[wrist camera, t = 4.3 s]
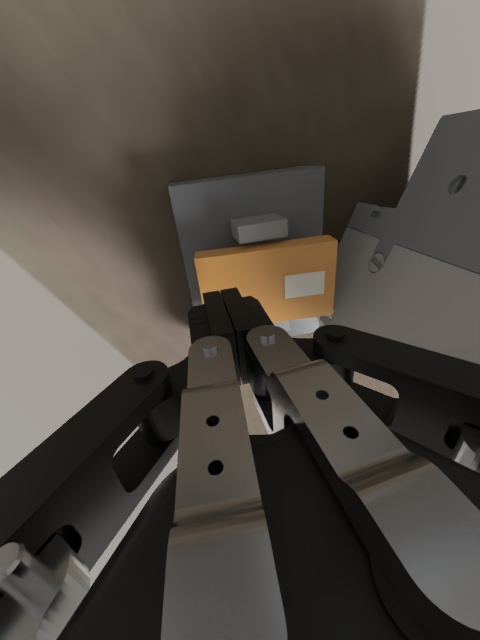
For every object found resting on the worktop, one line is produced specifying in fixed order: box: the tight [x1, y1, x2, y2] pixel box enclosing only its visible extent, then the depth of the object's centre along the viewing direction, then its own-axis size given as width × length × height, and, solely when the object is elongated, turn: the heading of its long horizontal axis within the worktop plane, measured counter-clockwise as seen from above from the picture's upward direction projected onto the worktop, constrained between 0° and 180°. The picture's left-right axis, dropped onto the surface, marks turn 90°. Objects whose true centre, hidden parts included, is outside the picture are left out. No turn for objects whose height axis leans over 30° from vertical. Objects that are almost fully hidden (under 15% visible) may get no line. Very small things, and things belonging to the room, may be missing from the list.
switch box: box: [168, 166, 325, 336], centre depth 17 cm, size 10×8×5 cm
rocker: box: [194, 235, 338, 323], centre depth 15 cm, size 4×7×2 cm, turn 97°
